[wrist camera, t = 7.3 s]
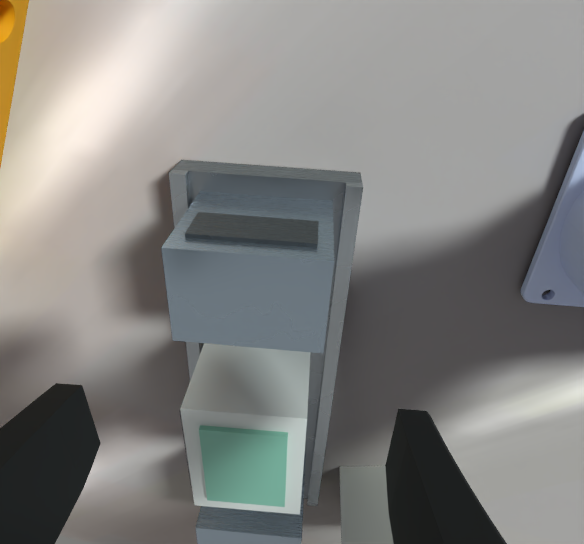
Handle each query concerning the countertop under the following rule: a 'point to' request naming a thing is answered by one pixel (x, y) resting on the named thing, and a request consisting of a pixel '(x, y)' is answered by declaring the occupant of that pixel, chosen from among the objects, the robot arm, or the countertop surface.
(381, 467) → the block
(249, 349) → the block
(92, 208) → the countertop surface
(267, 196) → the rail
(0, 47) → the yellow stepped block
